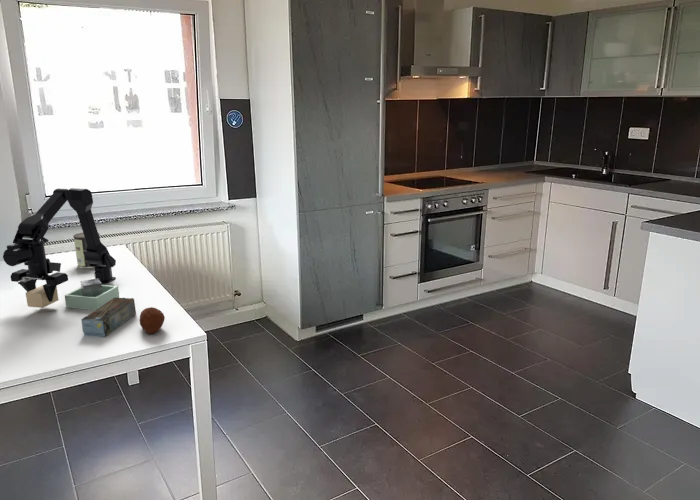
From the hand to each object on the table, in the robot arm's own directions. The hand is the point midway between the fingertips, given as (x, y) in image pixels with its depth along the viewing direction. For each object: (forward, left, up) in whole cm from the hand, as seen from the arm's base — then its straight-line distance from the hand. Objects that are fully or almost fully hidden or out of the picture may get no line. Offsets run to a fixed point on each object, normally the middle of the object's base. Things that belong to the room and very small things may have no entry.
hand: (43, 300), depth 186 cm
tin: (-10, +12, -3) cm, 16 cm away
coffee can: (-49, -18, -4) cm, 52 cm away
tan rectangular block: (0, 0, -1) cm, 1 cm away
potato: (+7, +46, -4) cm, 47 cm away
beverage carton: (+6, +30, -4) cm, 31 cm away
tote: (-10, +12, -4) cm, 16 cm away
